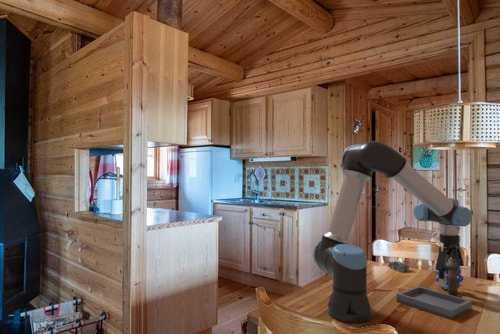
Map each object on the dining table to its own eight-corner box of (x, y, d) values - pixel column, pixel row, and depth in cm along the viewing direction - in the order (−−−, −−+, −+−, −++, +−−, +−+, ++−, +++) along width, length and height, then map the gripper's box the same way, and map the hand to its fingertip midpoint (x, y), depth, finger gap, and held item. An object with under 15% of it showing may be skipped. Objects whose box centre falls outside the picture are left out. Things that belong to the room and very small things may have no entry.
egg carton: (385, 267, 178) (385, 259, 178) (397, 266, 180) (397, 259, 180) (399, 272, 168) (399, 264, 168) (411, 271, 170) (411, 263, 170)
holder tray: (451, 319, 112) (451, 310, 112) (396, 301, 128) (396, 293, 128) (471, 309, 121) (471, 300, 121) (418, 293, 138) (418, 286, 138)
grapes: (468, 293, 138) (468, 264, 138) (460, 296, 135) (459, 266, 135) (440, 285, 148) (440, 258, 148) (432, 287, 145) (431, 260, 145)
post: (457, 302, 128) (457, 262, 128) (441, 297, 133) (441, 259, 133) (464, 299, 131) (464, 260, 132) (448, 294, 136) (448, 257, 137)
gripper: (444, 238, 132) (445, 291, 131) (471, 232, 146) (472, 280, 146) (426, 235, 138) (426, 286, 137) (453, 230, 152) (454, 276, 152)
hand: (450, 283), depth 141 cm, fingers open, 13 cm apart
